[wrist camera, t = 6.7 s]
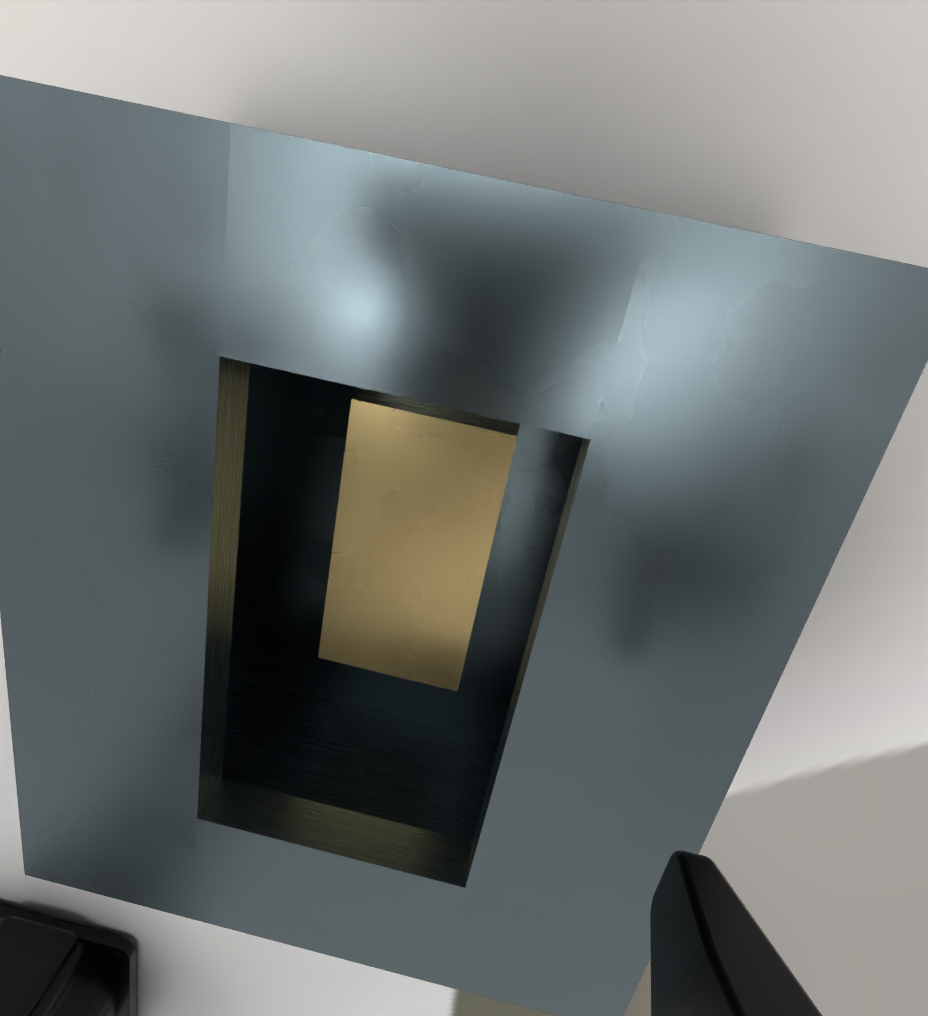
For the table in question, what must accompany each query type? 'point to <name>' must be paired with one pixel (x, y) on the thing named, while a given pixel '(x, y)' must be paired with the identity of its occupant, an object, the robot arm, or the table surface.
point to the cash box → (312, 516)
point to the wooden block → (413, 536)
